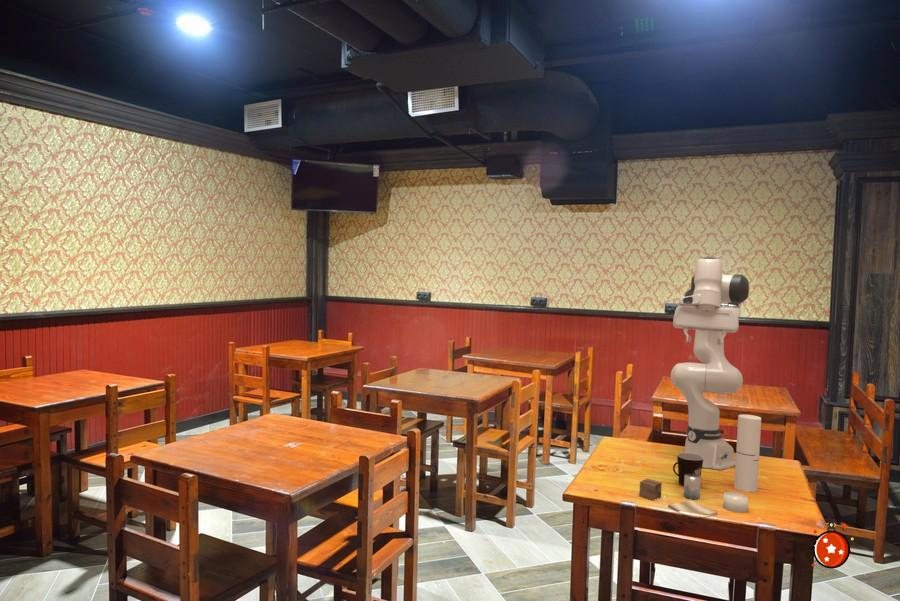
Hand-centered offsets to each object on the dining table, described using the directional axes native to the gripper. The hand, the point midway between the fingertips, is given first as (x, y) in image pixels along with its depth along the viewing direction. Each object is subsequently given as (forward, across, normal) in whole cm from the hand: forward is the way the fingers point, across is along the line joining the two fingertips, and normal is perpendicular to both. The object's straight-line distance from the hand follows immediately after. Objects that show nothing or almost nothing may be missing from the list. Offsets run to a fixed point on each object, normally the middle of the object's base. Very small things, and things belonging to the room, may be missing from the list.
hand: (703, 343), depth 200 cm
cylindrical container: (+44, -17, -29) cm, 55 cm away
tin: (+50, 0, -12) cm, 51 cm away
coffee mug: (+46, +2, -23) cm, 52 cm away
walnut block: (+52, +13, -6) cm, 54 cm away
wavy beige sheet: (+53, 0, 0) cm, 53 cm away
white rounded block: (+51, -12, -8) cm, 53 cm away
